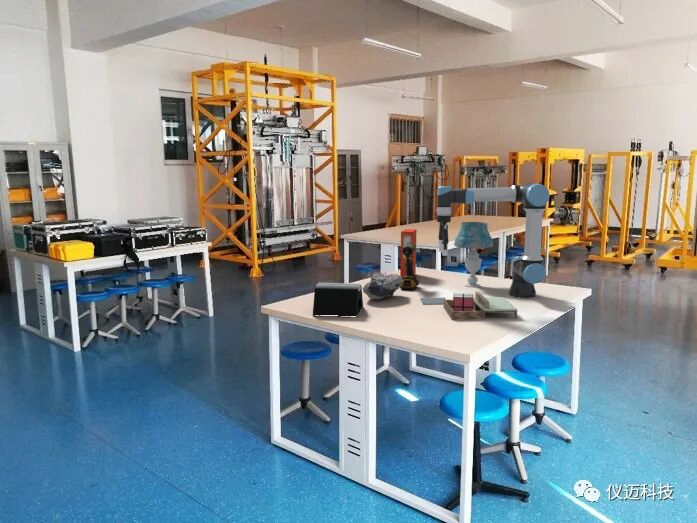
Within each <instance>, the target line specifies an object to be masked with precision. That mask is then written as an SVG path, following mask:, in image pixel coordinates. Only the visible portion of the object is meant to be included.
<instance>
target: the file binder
mask: <svg viewBox="0 0 697 523" xmlns="http://www.w3.org/2000/svg"><path fill="white" fill-rule="evenodd" d="M417 232H418V231H417V229H416V228H404V229H403V230H401V231H400V268H399V269H400V271H399V272H400V274H399V276H401V278H403V276H404V275H405V274H406V257H405V255H404V254H403V252H402V248H403V247H404V246H405V245H406V244H407V243H409V242H412V243H414V244H415V245H416V246H417ZM416 267H417V250H416V251H415V252H414V253H413V274H414V275H415V276H416V274H417V273H416V271H417V270H416Z"/></svg>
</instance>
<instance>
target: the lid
mask: <svg viewBox="0 0 697 523" xmlns="http://www.w3.org/2000/svg"><path fill="white" fill-rule="evenodd" d="M473 300H475V302H476V303H477V304H478V305H479V306H480V307H481V308H482V309H483V310H484V311H517V312H518V308H516V306H514V305H513V304H512V303H511V302H510V301H509V300H508V299H506V298H505V297H496V296H495V297H485V296H484V294H482V293H481V292H480V291H474V297H473Z"/></svg>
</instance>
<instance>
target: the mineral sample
mask: <svg viewBox="0 0 697 523" xmlns="http://www.w3.org/2000/svg"><path fill="white" fill-rule="evenodd" d="M401 283H402V278H401V276H400V274H396V273H390V274H389V273H387V274H384V273H382V272H381V273H380V272H373V274H372V275H371V277H370V281H369V282H366V283H365V285H363V287H362V294H365V295H366V296H367V297H368V298H369V299H372V300H381V299H382V298H388V297H392V296H394V294H395V292H397V290H399V289H400V286H401Z"/></svg>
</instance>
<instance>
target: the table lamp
mask: <svg viewBox="0 0 697 523" xmlns="http://www.w3.org/2000/svg"><path fill="white" fill-rule="evenodd" d="M453 245H454V247H456V248H460V249H461V248H463V249H470V252H469V253H467V257H466V258H463V259H464V260H463V261H464V265H465V269H466V270H467V271H468V272H469V273H470V274H469V276H468V277H467V283H465V284H464V287H466V288H479V287H481V284H479V283H478V280H479V278H478V277H477V275H476V273H477V272H478V271H479V270H480V269H481V266H482V261H483V259H482V258H480V257H479V256H480V253H478V252H477V249H489V248H493V247H494V240H493V238H492V236H491V234H490V232H489V228H488V223H487V222H485V221H463V222H461V223H460V228H459V231H458V233H457V236H456V237H455V239H454V243H453Z"/></svg>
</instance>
